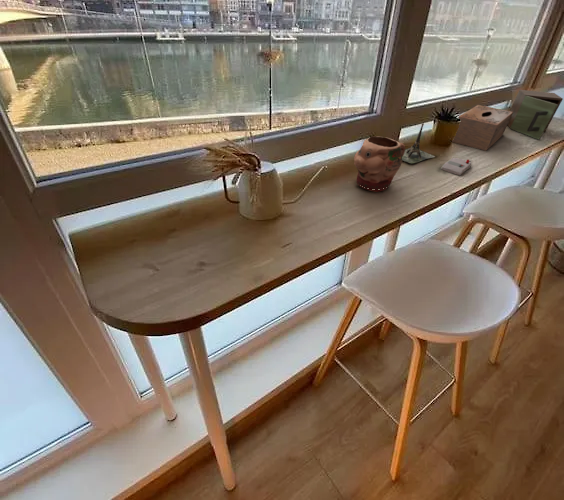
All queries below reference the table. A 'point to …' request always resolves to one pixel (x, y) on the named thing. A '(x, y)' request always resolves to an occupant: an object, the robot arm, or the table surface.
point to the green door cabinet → (538, 95)
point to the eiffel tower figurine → (416, 152)
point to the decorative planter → (378, 162)
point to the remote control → (456, 166)
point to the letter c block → (533, 116)
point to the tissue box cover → (482, 126)
